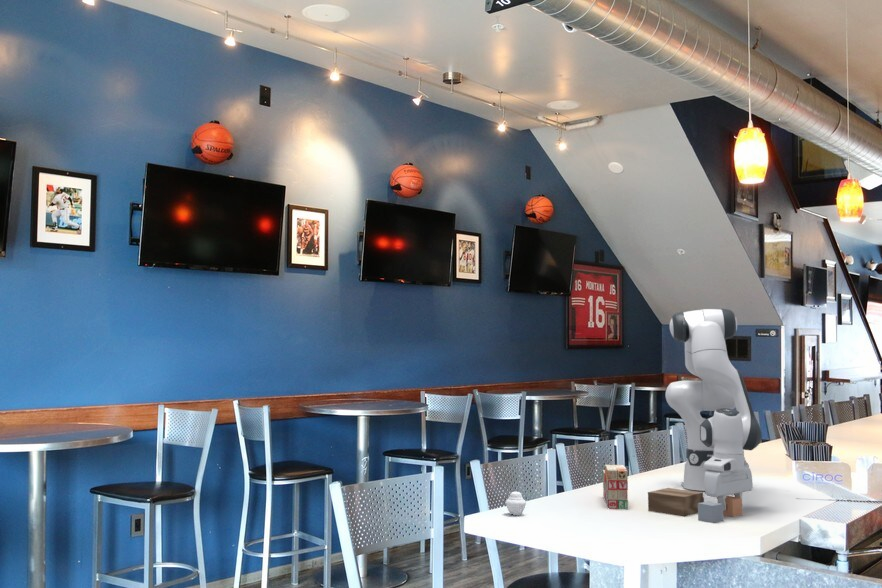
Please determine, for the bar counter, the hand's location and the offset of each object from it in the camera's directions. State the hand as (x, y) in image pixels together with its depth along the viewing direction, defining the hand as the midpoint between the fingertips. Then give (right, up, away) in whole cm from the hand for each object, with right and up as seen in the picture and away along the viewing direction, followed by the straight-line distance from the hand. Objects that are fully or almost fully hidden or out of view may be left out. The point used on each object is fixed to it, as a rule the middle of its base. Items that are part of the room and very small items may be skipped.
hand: (730, 508), depth 241 cm
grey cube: (-9, -1, -10) cm, 13 cm away
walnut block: (-15, -2, +5) cm, 16 cm away
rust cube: (0, -2, 0) cm, 2 cm away
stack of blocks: (-31, -3, +18) cm, 36 cm away
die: (+33, -9, +82) cm, 89 cm away
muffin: (-65, -1, -2) cm, 65 cm away
